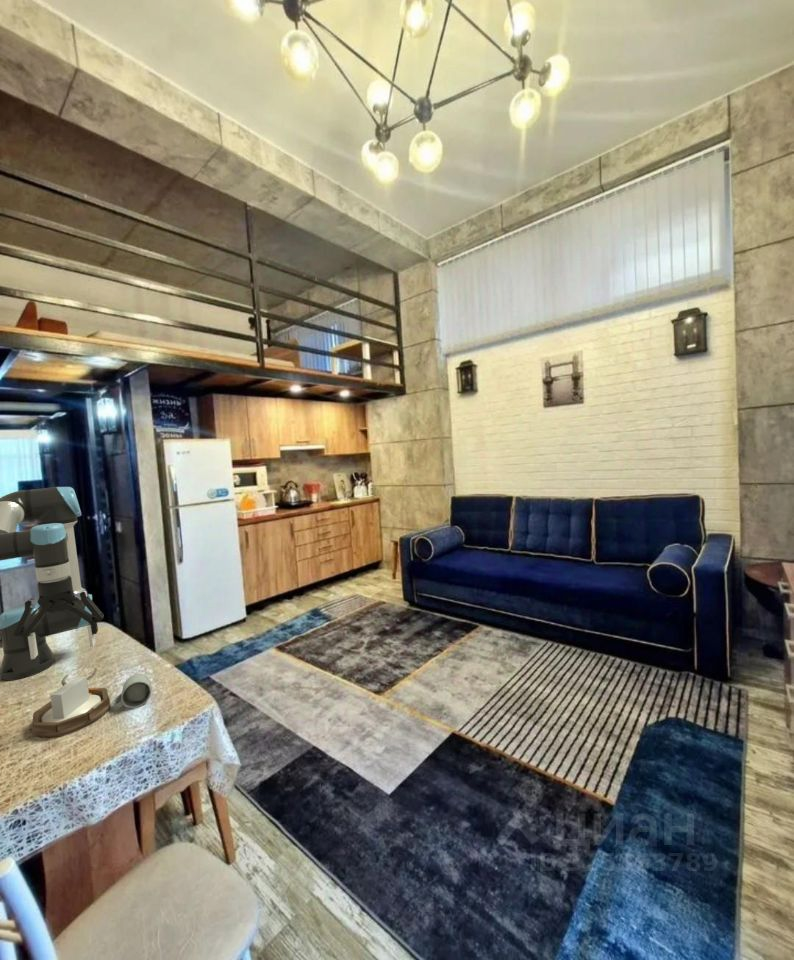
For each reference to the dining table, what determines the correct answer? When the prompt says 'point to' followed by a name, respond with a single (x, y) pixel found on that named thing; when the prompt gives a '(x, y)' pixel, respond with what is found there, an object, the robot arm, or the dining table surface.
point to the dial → (70, 701)
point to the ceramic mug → (133, 692)
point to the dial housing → (73, 723)
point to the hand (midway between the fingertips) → (64, 651)
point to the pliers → (87, 678)
